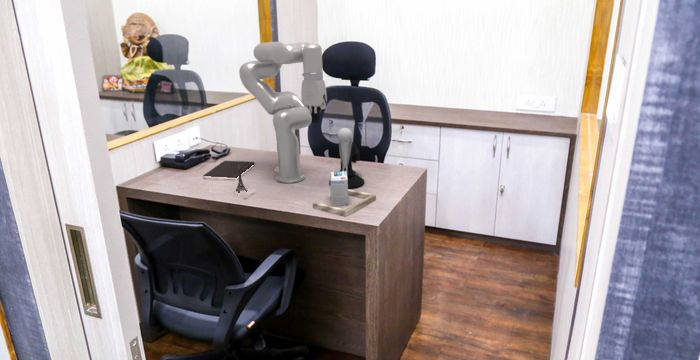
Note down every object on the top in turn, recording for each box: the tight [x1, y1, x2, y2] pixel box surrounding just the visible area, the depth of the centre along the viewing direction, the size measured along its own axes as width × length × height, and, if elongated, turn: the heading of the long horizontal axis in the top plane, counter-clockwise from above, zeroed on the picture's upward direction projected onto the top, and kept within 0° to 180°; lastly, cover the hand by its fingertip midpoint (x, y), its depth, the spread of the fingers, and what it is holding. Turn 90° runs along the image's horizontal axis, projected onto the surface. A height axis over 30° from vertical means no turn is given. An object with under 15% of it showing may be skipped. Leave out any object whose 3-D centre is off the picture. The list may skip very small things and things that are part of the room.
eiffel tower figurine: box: [235, 167, 248, 193], centre depth 217 cm, size 15×10×13 cm
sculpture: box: [329, 127, 365, 190], centre depth 226 cm, size 15×24×25 cm, turn 167°
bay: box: [312, 189, 377, 218], centre depth 204 cm, size 16×20×2 cm
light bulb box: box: [329, 171, 349, 207], centre depth 206 cm, size 11×7×11 cm, turn 3°
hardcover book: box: [202, 160, 255, 178], centre depth 247 cm, size 16×23×2 cm
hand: (315, 122), depth 211 cm, fingers closed
